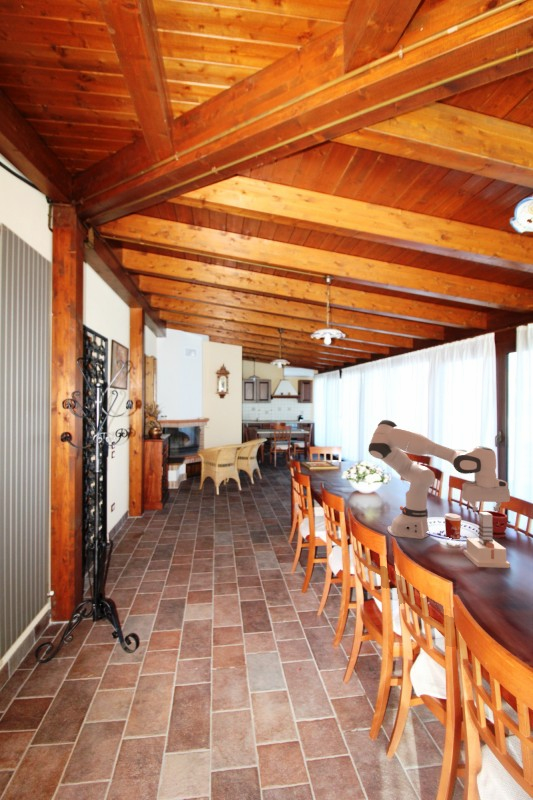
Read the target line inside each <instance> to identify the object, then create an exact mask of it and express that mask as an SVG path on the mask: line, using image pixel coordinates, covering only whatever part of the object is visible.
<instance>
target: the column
mask: <svg viewBox="0 0 533 800" xmlns="http://www.w3.org/2000/svg"><path fill="white" fill-rule="evenodd" d="M477 529H478V538H477V539H479V543H480V544H481V545H482V546H486V542H489V543H492V542H493V540H494V539H493V538H494V537H493V535H492V533H493V531H492V529H493V527H492V514H490V513H489V512H481V511H479V512H478V528H477ZM492 539H493V540H492Z"/></svg>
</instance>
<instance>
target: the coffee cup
mask: <svg viewBox="0 0 533 800" xmlns="http://www.w3.org/2000/svg"><path fill="white" fill-rule="evenodd" d="M443 518H444V524H445V526H444V527H445V538H446V537H449V538H452V539H460V540H461V527H462V516H461V515H459V514H456V513H445V514H444V516H443Z"/></svg>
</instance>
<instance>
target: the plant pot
mask: <svg viewBox="0 0 533 800" xmlns="http://www.w3.org/2000/svg"><path fill="white" fill-rule="evenodd" d="M480 512H489V513H490V514H492V527H493V529H492V531H493V533H492V535H493V537H492V538H494V539H496V538H498V539H499V538H504V537H506V535H507V534H506V530H507V528H508V521H509V520H508V519H509V518H508V515H507V514H505V513H503V512H500V511H494V510H492V511H491V510H482V511H480Z"/></svg>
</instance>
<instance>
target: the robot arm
mask: <svg viewBox="0 0 533 800" xmlns="http://www.w3.org/2000/svg"><path fill="white" fill-rule="evenodd" d="M367 449H368V453H369V454H370V456H372V457H374V458H376V459H378V460H381V461H382V462H384V463H385V464H386V465H387V466H389V467H390V468H391V469H393V470H394V471H395V472H396V473H397V474H398V475H399V476H400V477H401V478H403V479H404V480H405V481H406V482H409V483H410V486H409V489H408V490H407V491H406V492H405V506H404V507H403V506H402V505H401V506H399V510H400V511H401V514H399V515H397V516H395V517H394V518H393V519H392V521H391V525H388V526H387V532H388V533H389V534H390V535H391V536H393V537H399V538H409V539H410V538H411V539H420V540H423V539H426V538H427V537H429V536H430V535H427V534H426V532H427V531H429V532H430V530H429V525H428V516H429V512H428V508H427V507H428V504H427V501H428V498H427V497H428V492H429V489H430V488H431V486H432V485H433V484H434V482H435V480H436V475H435V472H434V471H433V470H431V469H430V468H429V467H427V466H424V465H421V464H418V463H416V462H414V461H413V460H411V458H409V456H408V454H407V453H409V454H411V455H415V456H425V455H427V456H428V455H429V456H433V457H436V458H439V459H441V460H445V461H447V462H449V463H450V464H451V465H452V466H453V467H454V469H455V470H456V471H457V472H458V473H460V474H464V475H467V474H469V475H470V474H474V480H471V481H469V480H468V481H467V480H465V481H464V482H463V483H462V484H461V488H462V491H461V499H462V500H463V501H465V502H469V503H470V505H471V506H472V511H473V512H478V511H479V510H478V506H476V505H475V504H476V502H479V503H480V502H481V503H483V502H490V503H496V505H495V506H493V511H494V512H500V507H501V506H502V503H508V502H510V500H511V494H510V493H511V492H510V488H509V487H508V486H509V483H508V482H507V481H505V480H502V479H500V478H497V473H496V469H497V456H496V452H495V451H494V450H493V448H492V449H491V448H490V447H487V446H482V445H481V446H475V447H474V448H472V449H470V450H465V449H452V448H449V447H447V446H443V445H441V444H438V443H437V442H434V441H433V440H431V439H429V438H428V437H426V436H424V435H423V434H420V433H418V432H416V431H414V430H410V429H408V428H405V427H399V426H398V425H397V424H396V423H395V422H394V421H392V420H391V419H390V420H389V419H382V420H381V421H380V422H379V423H378V424H377V427H376V429H375V430H374V433H373V435H372V438H371V441H370V443H369V445H368V448H367ZM405 452H406V453H405Z"/></svg>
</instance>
